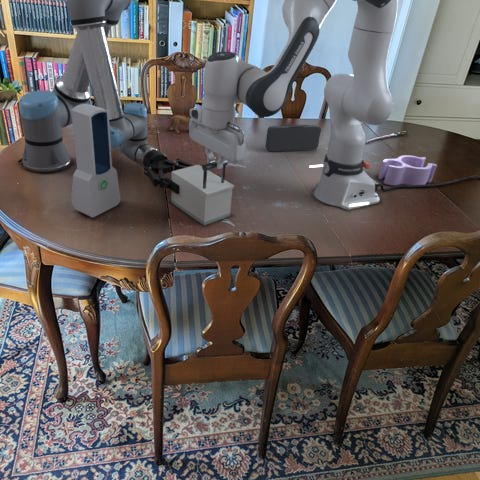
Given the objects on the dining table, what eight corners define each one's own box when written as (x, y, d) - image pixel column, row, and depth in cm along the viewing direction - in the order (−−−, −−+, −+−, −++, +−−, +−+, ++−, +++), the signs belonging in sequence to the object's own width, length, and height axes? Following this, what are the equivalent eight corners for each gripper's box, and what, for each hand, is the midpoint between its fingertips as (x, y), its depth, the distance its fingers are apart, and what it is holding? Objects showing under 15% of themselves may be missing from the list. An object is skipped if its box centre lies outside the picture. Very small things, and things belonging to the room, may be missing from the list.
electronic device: (90, 219, 132) (80, 115, 116) (71, 210, 135) (59, 108, 119) (121, 203, 141) (116, 105, 125) (103, 195, 144) (96, 99, 128)
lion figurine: (198, 128, 202) (199, 107, 197) (202, 132, 198) (203, 111, 193) (165, 129, 197) (165, 108, 192) (167, 134, 193) (168, 112, 188)
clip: (390, 188, 168) (396, 170, 164) (372, 173, 178) (376, 156, 174) (435, 185, 175) (441, 168, 171) (415, 170, 184) (420, 154, 181)
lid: (233, 188, 136) (236, 162, 131) (206, 196, 130) (208, 169, 125) (198, 166, 146) (199, 142, 141) (171, 173, 140) (171, 148, 135)
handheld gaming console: (315, 147, 196) (319, 124, 190) (317, 149, 194) (322, 126, 188) (264, 149, 189) (267, 125, 183) (266, 152, 187) (269, 127, 181)
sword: (403, 131, 224) (404, 129, 223) (408, 133, 222) (409, 131, 221) (360, 143, 208) (360, 140, 207) (365, 145, 206) (366, 142, 205)
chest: (230, 215, 141) (232, 187, 136) (203, 225, 135) (205, 196, 130) (196, 194, 151) (198, 166, 146) (171, 202, 145) (171, 174, 140)
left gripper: (179, 163, 164) (220, 187, 151) (122, 177, 151) (161, 206, 138) (180, 143, 160) (221, 166, 147) (121, 156, 147) (161, 183, 134)
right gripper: (253, 127, 119) (248, 176, 127) (203, 104, 131) (201, 151, 139) (235, 131, 115) (230, 182, 123) (185, 108, 128) (184, 155, 135)
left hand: (192, 185), depth 142 cm, fingers closed on chest, 10 cm apart
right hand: (214, 165), depth 131 cm, fingers closed on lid, 2 cm apart
